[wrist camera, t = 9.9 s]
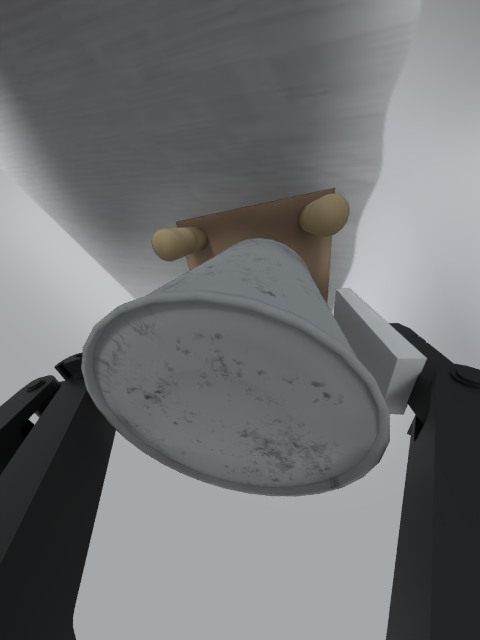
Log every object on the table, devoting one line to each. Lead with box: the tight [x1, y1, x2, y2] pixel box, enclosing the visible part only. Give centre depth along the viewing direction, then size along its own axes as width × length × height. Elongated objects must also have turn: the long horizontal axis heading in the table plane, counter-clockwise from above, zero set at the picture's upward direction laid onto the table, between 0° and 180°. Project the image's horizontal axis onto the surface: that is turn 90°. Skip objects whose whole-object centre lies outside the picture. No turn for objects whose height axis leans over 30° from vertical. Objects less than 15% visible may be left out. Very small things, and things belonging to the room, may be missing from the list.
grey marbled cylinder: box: [81, 238, 390, 496], centre depth 11 cm, size 10×10×12 cm
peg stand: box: [152, 188, 349, 304], centre depth 15 cm, size 14×12×7 cm
